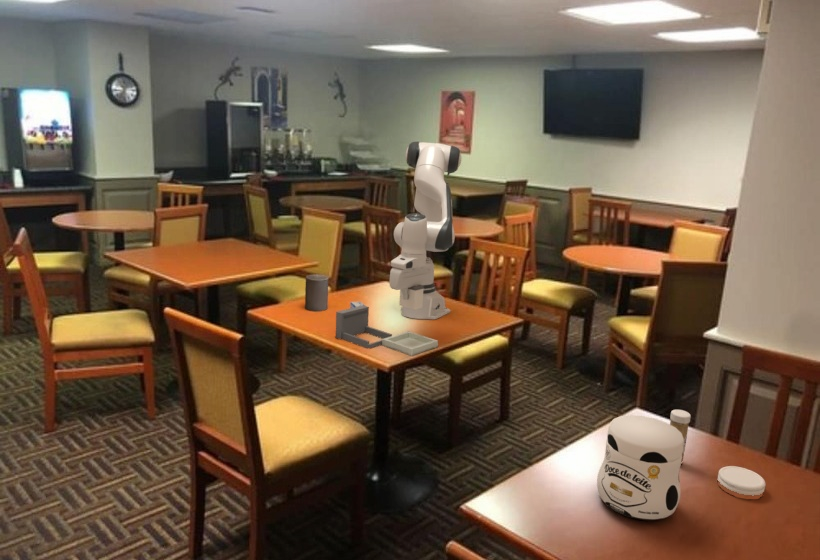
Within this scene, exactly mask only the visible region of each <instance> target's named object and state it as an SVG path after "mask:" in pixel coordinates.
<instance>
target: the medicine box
mask: <svg viewBox="0 0 820 560" xmlns="http://www.w3.org/2000/svg"><path fill="white" fill-rule="evenodd" d="M349 305H350V306H349V308H354V307H358V306H362V305H364V306H366V305H365V304H364V303H363V302H362V301H351V302H350V304H349Z"/></svg>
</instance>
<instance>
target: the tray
mask: <svg viewBox="0 0 820 560" xmlns="http://www.w3.org/2000/svg"><path fill="white" fill-rule="evenodd" d="M381 340H382V345H383V347H385V346H386V348H388V347H389V348H388V349H391V350H394V351H396V350H397V352H399V351H400V353H403V354H406V355H409V356H411V357H412V356H416V355H419V354H421V353H425V352H427V351H430V350H433V349H436V348H438V347H439V339H434V338H431V337H428V336H424V335H422V334H419V333H415V332H413V331H409V330H407V331H404V332H400V333H397V334H394V335H392V336H391V337H388V338H384V339H383V338H381ZM382 345H381V346H382Z"/></svg>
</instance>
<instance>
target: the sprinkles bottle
mask: <svg viewBox="0 0 820 560" xmlns="http://www.w3.org/2000/svg"><path fill="white" fill-rule="evenodd" d="M691 418H692V417H691V414H690V413H689V412H688V411H686V410H683V409H673V410H671V412H670V418H669V419H670V422H669V424H670V425H672V426H674V427H675V428H676V429H678V430H679V431H680V432H681V433H682V436H683V439H684V445H683V452H682V460H681V462H682V461H683V462H684V456H685V451H686V444H687V438H688V432H689V431H688V430H689V424H690V422H691Z"/></svg>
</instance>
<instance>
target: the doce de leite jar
mask: <svg viewBox="0 0 820 560" xmlns="http://www.w3.org/2000/svg"><path fill="white" fill-rule="evenodd" d="M606 433H607V439H606V443H605V453H604V458H603V461H602V462H601V465H600V467H599V469H598V473H597V480H596V481H597V483H596V486H597V493H598V496H599V497H600V499H601V500H602V501H603V503H604V504H605V505H606V506H607V505H608V507H609V508H610V509H612V510H613V511H614V512H616V513H618V514H620V513H621V515H622V514H623V516H624V515H625V516H624V517H626V518H630V519H631V518H632V519H635V520H638V521H649V522H650V521H652V522H653V521H658V520H659V521H660V520H665V519H667V518H669V517H670V516H672V515H673V514H674V513H675V511H676V509H677V508H678V506H679V505H678V504H679V502H680V499H681V490H682V489H681V484H680V469H681V466H682V465H681V460H682V452H683V445H684V439H683V436H682V433H681V432H680V431H679V430H678V429H676V428H675V427H674V426H672V425H670V423H668V422H666V421H663V420H660V419H658V418H654V417H649V416H645V415H635V414H634V415H633V414H631V415H629V414H628V415H621V416H618V417H615V418H613V419H612V421H610V423H609V425H608V430H607V432H606Z"/></svg>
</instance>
